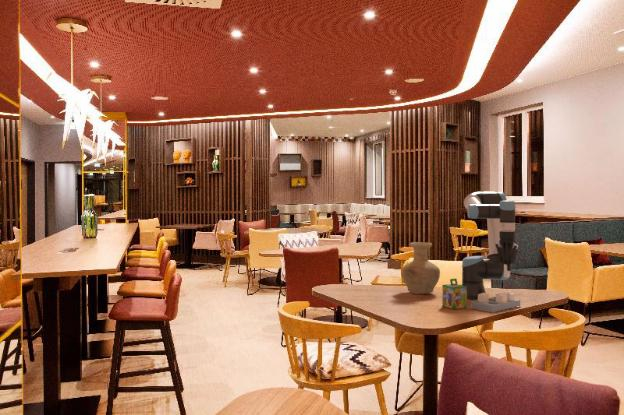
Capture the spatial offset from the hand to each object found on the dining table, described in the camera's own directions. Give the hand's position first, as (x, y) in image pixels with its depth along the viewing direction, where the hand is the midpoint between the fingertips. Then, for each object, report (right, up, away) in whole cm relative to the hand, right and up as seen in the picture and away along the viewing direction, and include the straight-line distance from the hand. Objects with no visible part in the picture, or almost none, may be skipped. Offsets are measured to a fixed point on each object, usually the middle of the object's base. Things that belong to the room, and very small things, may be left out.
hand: (506, 277), depth 271 cm
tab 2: (-2, -15, +2) cm, 15 cm away
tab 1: (-11, -15, +3) cm, 19 cm away
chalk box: (-25, -17, +5) cm, 31 cm away
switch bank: (-4, -17, +5) cm, 18 cm away
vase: (-35, -16, +44) cm, 59 cm away
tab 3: (+4, -15, +6) cm, 17 cm away
